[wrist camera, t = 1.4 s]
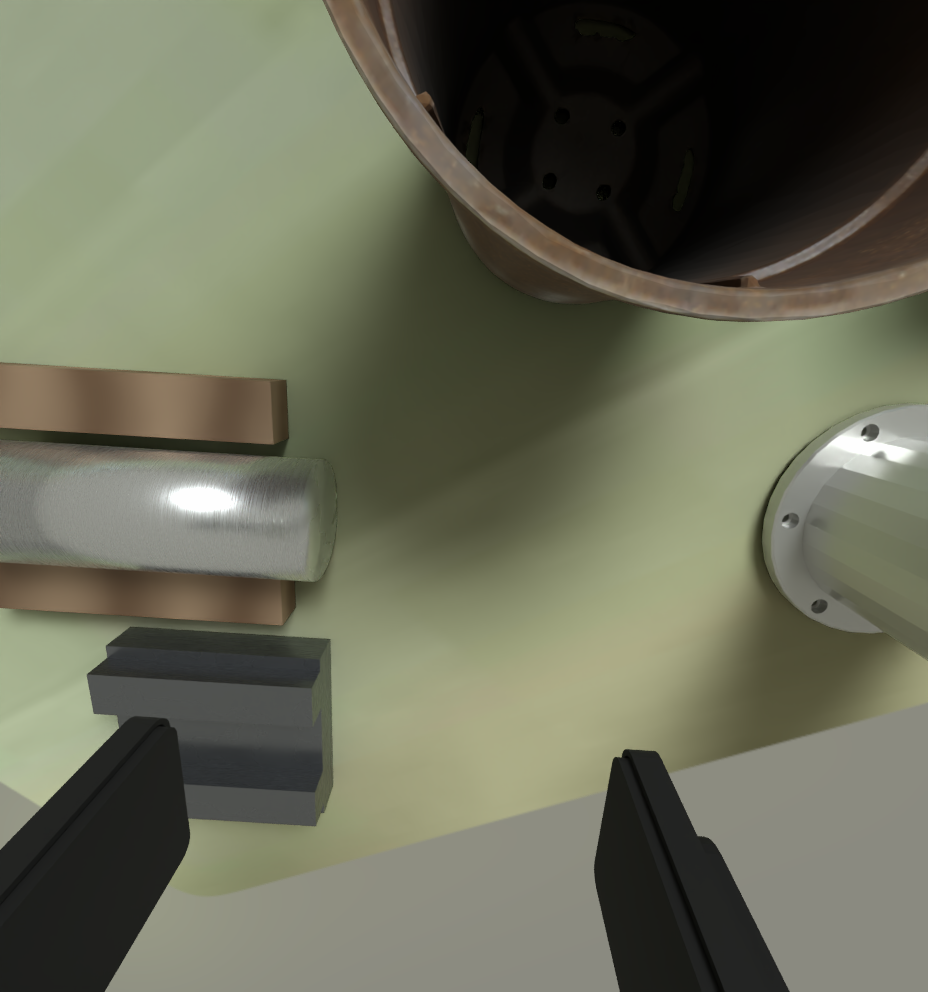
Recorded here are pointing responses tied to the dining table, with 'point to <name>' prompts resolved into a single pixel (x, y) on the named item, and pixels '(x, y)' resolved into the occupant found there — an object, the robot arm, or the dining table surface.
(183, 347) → the dining table surface
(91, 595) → the wooden blocks
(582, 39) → the plant pot
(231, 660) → the v block
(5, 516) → the axle
